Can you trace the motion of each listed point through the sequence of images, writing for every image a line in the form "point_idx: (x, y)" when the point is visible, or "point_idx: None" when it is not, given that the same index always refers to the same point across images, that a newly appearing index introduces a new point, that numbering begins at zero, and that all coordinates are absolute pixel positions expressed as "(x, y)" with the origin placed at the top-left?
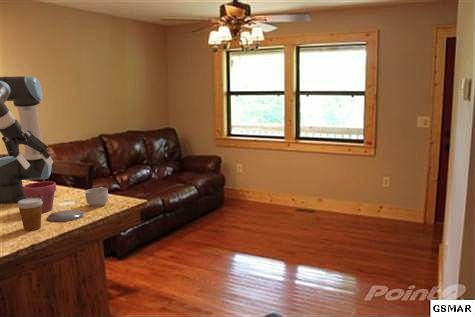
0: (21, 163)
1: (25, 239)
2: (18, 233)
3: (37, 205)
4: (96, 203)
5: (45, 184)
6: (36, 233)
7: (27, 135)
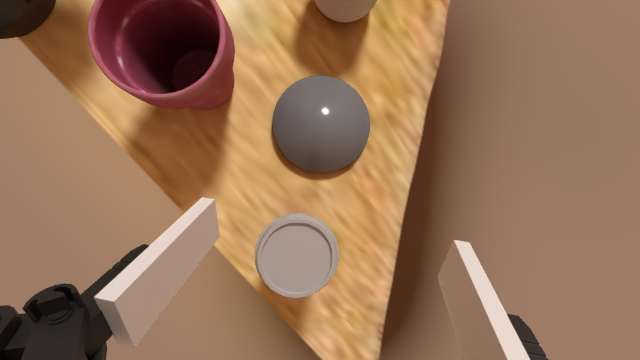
0: (183, 277)
1: (340, 310)
2: None
3: (336, 265)
4: (359, 18)
5: None
6: None
7: None
